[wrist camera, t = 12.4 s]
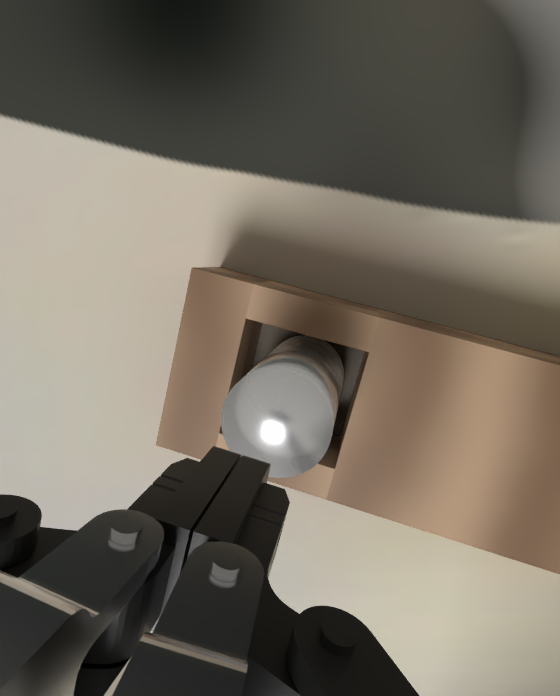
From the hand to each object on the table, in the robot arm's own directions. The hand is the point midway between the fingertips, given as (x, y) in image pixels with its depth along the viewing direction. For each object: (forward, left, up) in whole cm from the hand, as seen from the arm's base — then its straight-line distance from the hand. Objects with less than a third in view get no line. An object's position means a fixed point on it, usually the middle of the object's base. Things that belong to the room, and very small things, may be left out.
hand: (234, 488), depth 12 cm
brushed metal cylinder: (0, 0, -13) cm, 13 cm away
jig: (-5, -5, -13) cm, 15 cm away
